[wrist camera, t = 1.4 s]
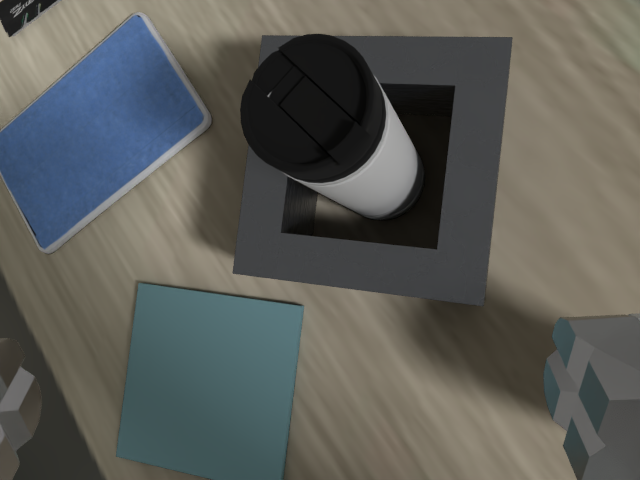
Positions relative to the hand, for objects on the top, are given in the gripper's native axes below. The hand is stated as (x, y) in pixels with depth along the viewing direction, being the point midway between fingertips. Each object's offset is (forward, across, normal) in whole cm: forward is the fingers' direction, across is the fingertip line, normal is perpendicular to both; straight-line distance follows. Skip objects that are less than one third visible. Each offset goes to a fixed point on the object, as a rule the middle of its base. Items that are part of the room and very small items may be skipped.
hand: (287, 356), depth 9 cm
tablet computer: (+41, +19, +14) cm, 48 cm away
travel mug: (+32, -5, +15) cm, 36 cm away
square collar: (+32, -5, +15) cm, 36 cm away
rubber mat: (+25, +9, +29) cm, 39 cm away
